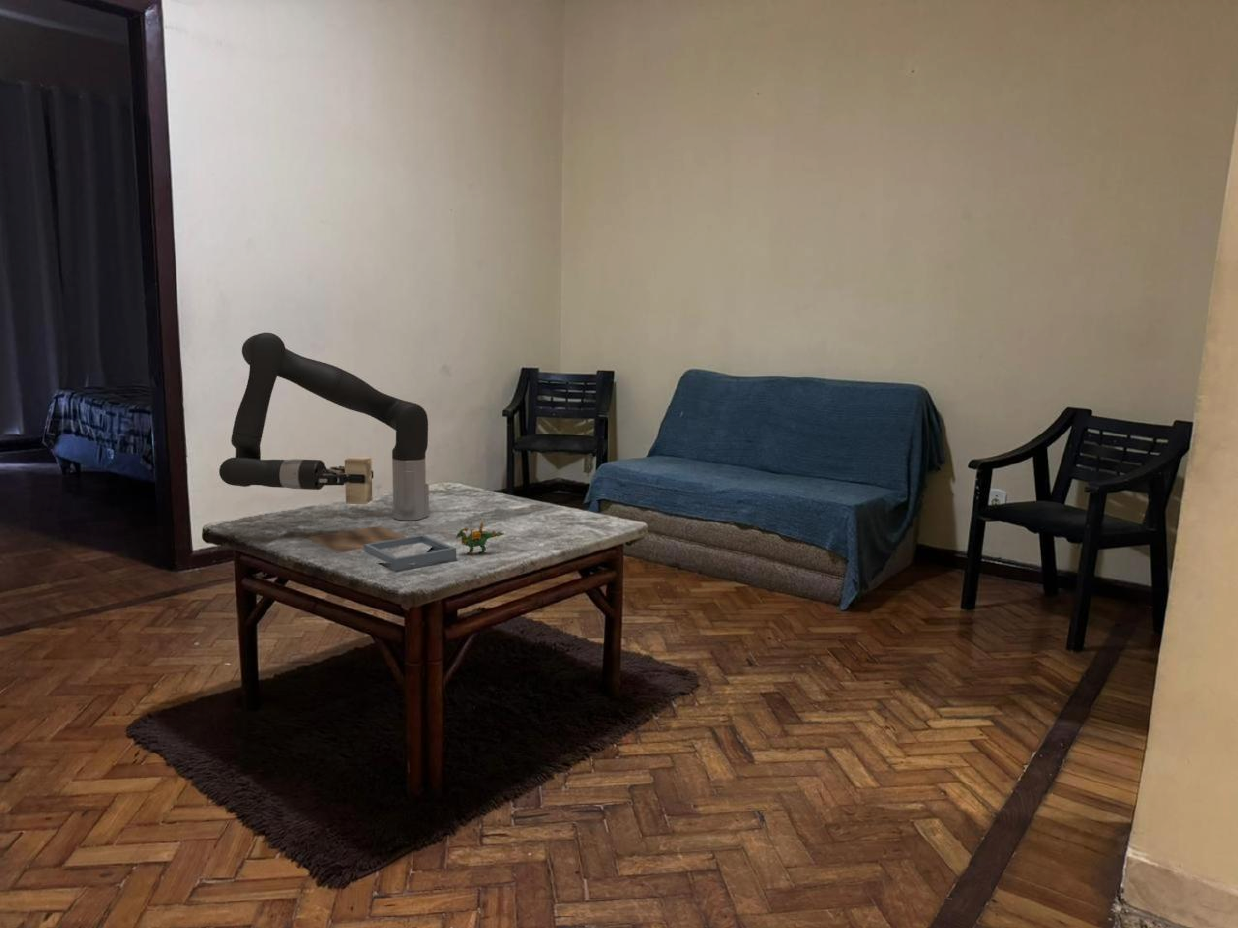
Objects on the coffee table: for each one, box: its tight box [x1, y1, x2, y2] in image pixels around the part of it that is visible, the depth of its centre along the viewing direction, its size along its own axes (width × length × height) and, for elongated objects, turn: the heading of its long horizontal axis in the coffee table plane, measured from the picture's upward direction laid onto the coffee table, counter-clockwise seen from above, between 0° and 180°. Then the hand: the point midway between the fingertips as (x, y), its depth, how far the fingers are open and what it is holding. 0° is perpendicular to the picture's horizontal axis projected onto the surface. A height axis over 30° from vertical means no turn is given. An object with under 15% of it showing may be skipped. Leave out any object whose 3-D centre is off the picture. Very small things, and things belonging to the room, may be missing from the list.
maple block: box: [344, 456, 374, 505], centre depth 219 cm, size 5×5×11 cm
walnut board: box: [307, 525, 407, 553], centre depth 222 cm, size 20×18×2 cm
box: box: [363, 534, 457, 573], centre depth 210 cm, size 16×16×3 cm
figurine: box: [455, 521, 505, 556], centre depth 216 cm, size 3×12×8 cm, turn 107°
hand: (368, 476), depth 219 cm, fingers closed on maple block, 5 cm apart
